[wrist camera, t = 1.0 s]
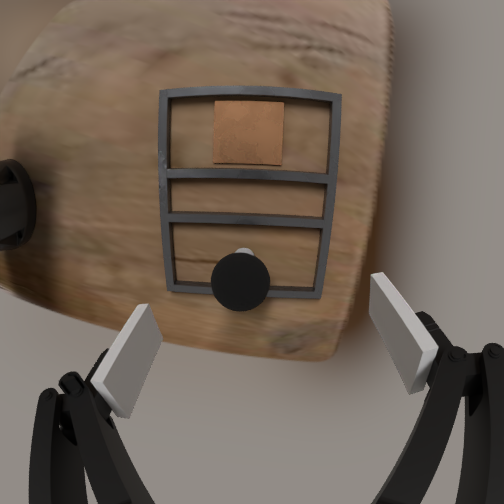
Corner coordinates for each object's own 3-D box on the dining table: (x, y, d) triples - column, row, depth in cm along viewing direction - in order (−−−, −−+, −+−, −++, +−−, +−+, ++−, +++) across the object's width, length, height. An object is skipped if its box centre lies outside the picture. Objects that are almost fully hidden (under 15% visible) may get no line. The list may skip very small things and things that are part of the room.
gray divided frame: (169, 286, 36) (167, 290, 35) (163, 91, 27) (159, 90, 26) (319, 293, 36) (320, 298, 35) (338, 95, 26) (341, 94, 25)
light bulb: (269, 274, 35) (271, 322, 26) (223, 276, 35) (210, 323, 26) (267, 230, 33) (269, 266, 24) (218, 232, 33) (201, 269, 24)
